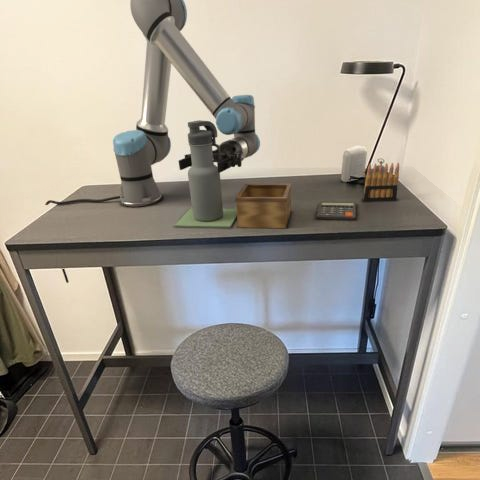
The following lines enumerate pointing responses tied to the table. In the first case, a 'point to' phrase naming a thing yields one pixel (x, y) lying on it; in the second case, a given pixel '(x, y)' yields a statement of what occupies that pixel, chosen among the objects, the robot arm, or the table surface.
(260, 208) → the wooden box
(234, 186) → the table surface
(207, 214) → the water bottle
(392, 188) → the ammunition clip
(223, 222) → the desk mat
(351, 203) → the calculator
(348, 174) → the photo printer
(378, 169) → the pocket watch
